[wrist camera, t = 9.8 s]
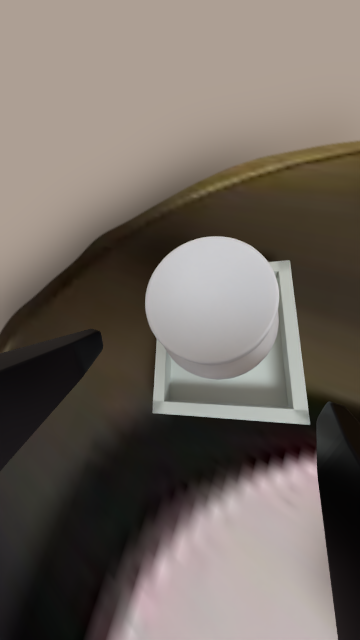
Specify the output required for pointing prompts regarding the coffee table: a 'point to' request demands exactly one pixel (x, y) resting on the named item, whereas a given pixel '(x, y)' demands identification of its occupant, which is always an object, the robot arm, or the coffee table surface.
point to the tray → (243, 376)
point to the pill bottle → (214, 306)
